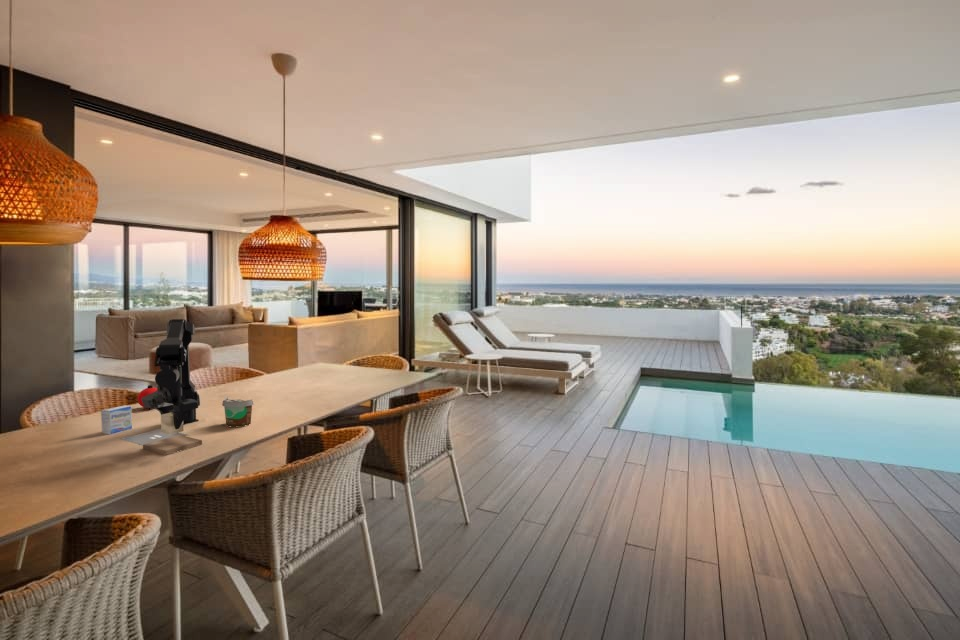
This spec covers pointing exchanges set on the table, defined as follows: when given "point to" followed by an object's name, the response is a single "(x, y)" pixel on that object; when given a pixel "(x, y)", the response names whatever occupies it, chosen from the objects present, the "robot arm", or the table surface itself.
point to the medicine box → (116, 419)
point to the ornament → (145, 394)
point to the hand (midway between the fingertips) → (172, 427)
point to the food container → (237, 412)
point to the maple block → (169, 424)
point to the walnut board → (172, 444)
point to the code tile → (150, 437)
